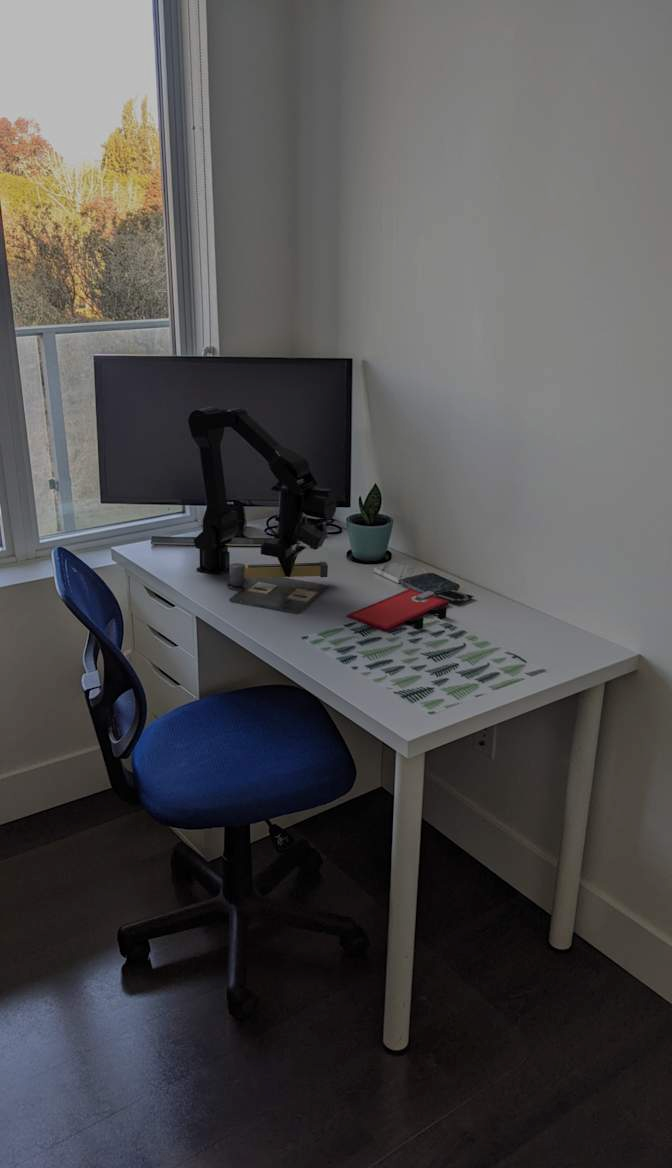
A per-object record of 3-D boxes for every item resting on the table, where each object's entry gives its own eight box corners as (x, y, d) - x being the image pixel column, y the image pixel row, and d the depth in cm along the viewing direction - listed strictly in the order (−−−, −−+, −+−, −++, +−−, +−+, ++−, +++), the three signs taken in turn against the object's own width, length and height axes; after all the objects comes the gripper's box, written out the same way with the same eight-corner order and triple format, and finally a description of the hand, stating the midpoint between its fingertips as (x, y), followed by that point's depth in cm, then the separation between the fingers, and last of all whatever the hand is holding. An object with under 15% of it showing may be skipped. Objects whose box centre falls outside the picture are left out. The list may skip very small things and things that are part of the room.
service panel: (210, 597, 208) (210, 593, 208) (245, 573, 224) (245, 569, 223) (298, 613, 201) (298, 610, 201) (328, 587, 217) (328, 583, 216)
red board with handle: (480, 602, 212) (429, 586, 221) (481, 591, 211) (429, 575, 220) (399, 640, 191) (346, 620, 201) (400, 628, 190) (346, 608, 200)
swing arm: (230, 586, 213) (230, 568, 211) (229, 580, 216) (229, 563, 214) (327, 583, 217) (328, 565, 216) (324, 577, 220) (325, 560, 219)
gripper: (306, 526, 198) (302, 593, 203) (338, 509, 215) (334, 572, 220) (260, 518, 202) (258, 585, 207) (295, 502, 218) (292, 564, 223)
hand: (287, 576), depth 214 cm, fingers closed
